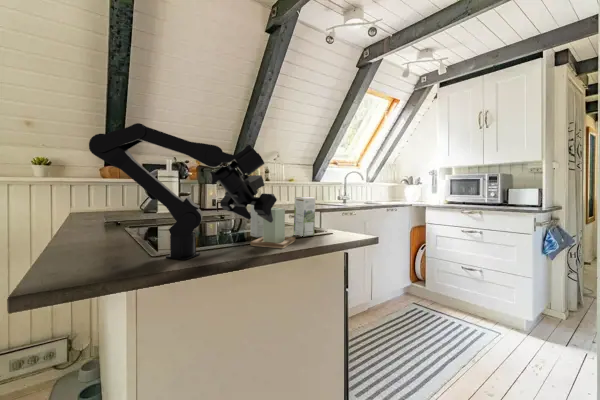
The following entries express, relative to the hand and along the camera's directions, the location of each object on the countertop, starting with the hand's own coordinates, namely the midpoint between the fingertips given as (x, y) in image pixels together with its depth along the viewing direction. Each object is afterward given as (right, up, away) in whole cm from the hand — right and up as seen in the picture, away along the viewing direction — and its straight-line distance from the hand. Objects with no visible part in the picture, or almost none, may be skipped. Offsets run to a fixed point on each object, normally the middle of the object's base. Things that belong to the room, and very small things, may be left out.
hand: (260, 219), depth 93 cm
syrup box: (+14, -7, +20) cm, 25 cm away
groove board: (+4, -8, +5) cm, 10 cm away
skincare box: (-2, -7, +17) cm, 19 cm away
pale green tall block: (+4, -8, +5) cm, 10 cm away
